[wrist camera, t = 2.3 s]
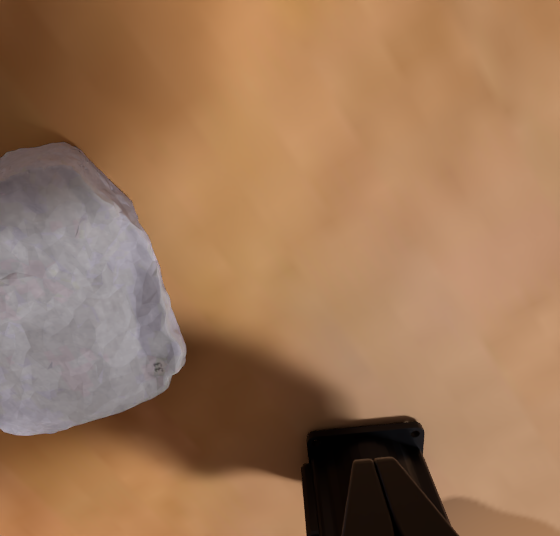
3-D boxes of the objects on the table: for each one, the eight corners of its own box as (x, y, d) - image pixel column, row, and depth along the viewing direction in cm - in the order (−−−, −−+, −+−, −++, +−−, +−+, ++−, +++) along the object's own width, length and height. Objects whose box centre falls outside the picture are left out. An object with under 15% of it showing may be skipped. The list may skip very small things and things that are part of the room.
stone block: (96, 112, 17) (-127, 210, 17) (70, 119, 13) (-231, 251, 13) (217, 324, 23) (49, 402, 22) (226, 379, 18) (18, 477, 18)
